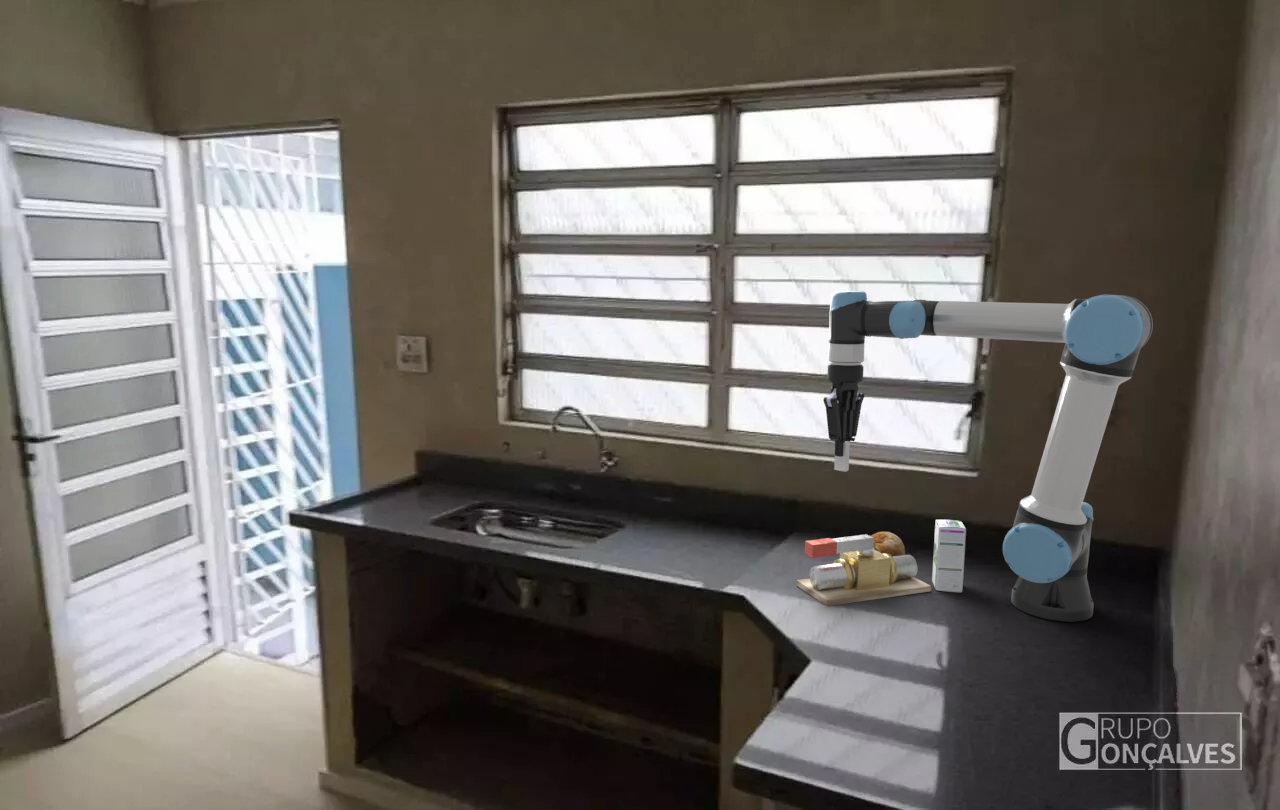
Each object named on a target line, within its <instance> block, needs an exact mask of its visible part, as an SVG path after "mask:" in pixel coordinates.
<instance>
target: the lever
mask: <svg viewBox="0 0 1280 810" xmlns="http://www.w3.org/2000/svg"><path fill="white" fill-rule="evenodd" d="M873 539H874V538H873V537H871V535H870V534H869V535H868V534H867V533H865V534H859V535H851V536H843V537H842V536H841V537H836V538H835V537H834V538H831V537H826V538H819V539H811V540H805V541H804V542H805V543H804V554H805V555H806V556H807V557H810V558H811V559H815V558H823V557H830V556H836V555H837V554H840V553H845V552H853V551H857V554H858V555H860V556H865V557H870V556H873V555H874V547H873Z"/></svg>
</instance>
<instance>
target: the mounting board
mask: <svg viewBox="0 0 1280 810" xmlns="http://www.w3.org/2000/svg"><path fill="white" fill-rule="evenodd" d="M795 585H796V586H797V587H798V588H800V589H801V590H802V591H804V592H805V593H806V594H808V595H810V596H811V597H813V598H815V599H816V600H817V601H818V602H819V603H822V604H823V605H824V606H826V607H828V606H836V605H843V604H845V605H846V604H850V603H858V602H866V601H873V600H878V599H879V600H880V599H885V598H894V597H900V596H906V595H914V594H922V593H929V592H931V591H932V585H930V584H929V583H926V582H925V581H922V580H921V579H918V578H917V577H916V576H915V577H913V578H905V579H898V580H896V581H895V583H894V584H889V587H883V588H875V589H868V590H861V591H856V590H855V589H853V588H851V589H850V590H845V589H843V588H841V587H838V588H830V589H823V590H816V589H814V588H813V586H812V584H811V581H810V577H809V578H803V579H797V580H796V584H795Z"/></svg>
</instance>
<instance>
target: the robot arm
mask: <svg viewBox="0 0 1280 810" xmlns="http://www.w3.org/2000/svg"><path fill="white" fill-rule="evenodd" d="M828 314H829V320H828V321H829V323H828V324H829V333H828V334H829V335H828V347H827V350H828V354H827V357H828V358H827V360H828V362H830V363H829V364H827V376H826V377H827V381H829V382H831V387H830V394H829V396H824V397H823V404H824V406H825V413H826V421H827V422H826V423H827V432H828V439H830V441H833V442H834V464H833V467H834V468H833V470H835V471H839V472H845V473H846V472H849V470H850V469H849V468H850V467H849V466H850V452H851V451H850V450H851V449H850V448H851V446H850V445H851V442H855V440H856V438H855V437H857V434H858V428H859V421H860V418H861V417H860V416H861V409H862V404H863V401H864V398H865V393H864V392H859V385H858V383H861V382H863V380H864V367H865V366H864V365H863V364H862V363H863V362H864V361H865V340H866V337H875V338H876V337H877V338H891V339H892V338H895V339H900V340H905V339H916V338H919V337H920V336H932V337H935V336H937V337H939V336H940V337H952V338H953V337H954V338H955V337H956V338H973V339H991V340H1010V341H1027V342H1028V341H1031V342H1043V343H1044V342H1045V343H1063V344H1064V347H1063V350H1062V354H1061V357H1060V361H1059V364H1060V365H1061V367H1062V368H1063V371H1064V372H1065V377H1064V379H1063V384H1062V387H1061V390H1060V394H1059V398H1058V401H1057V405H1056V409H1055V412H1054V415H1053V419H1052V421H1051V426H1050V429H1049V432H1048V435H1047V439H1046V443H1045V445H1044V449H1043V453H1042V457H1041V459H1040V464H1039V466H1038V470H1037V474H1036V476H1035V479H1034V480H1035V481H1034V484H1033V488H1032V490H1031V494H1030V495H1027V496H1025V497H1024V498H1021V500H1020V501H1019V504H1018V508H1017V511H1016V515H1015V517H1014V522H1013V525H1012V528H1010V530H1008V531H1007V532H1006V534H1005V537H1004V540H1003V543H1002V555H1003V558H1004V560H1005V562H1006V564H1007V565H1008V567H1010V569H1011V570H1012V572H1013V573H1015V574H1016V575H1017V576H1018V577H1017V579H1016V581H1015V584H1014V586H1013V587H1012V589H1011V597H1010V601H1011V604H1012V605H1013V606H1014V607H1015V608H1016V609H1018V610H1019V611H1022V612H1024V613H1026V614H1029V615H1031V616H1034V617H1038V618H1041V619H1045V620H1050V621H1056V622H1057V621H1058V622H1067V623H1068V622H1069V623H1070V622H1072V623H1073V622H1082V621H1086V620H1089V619H1091V618H1092V617H1093V614H1094V605H1095V604H1094V601H1093V599H1092V597H1091V596H1092V595H1091V591H1090V586H1089V581H1088V578H1087V577H1088V576H1087V575H1088V565H1089V564H1088V563H1089V557H1090V546H1091V535H1092V527H1093V522H1094V520H1095V519H1094V510H1093V507H1092V505H1091V504H1089V503H1088V502H1085V501H1084V500H1085V496H1086V493H1087V490H1088V487H1089V484H1090V480H1091V476H1092V473H1093V470H1094V466H1095V464H1096V460H1097V457H1098V454H1099V450H1100V448H1101V444H1102V442H1103V441H1102V440H1103V437H1104V434H1105V431H1106V428H1107V425H1108V421H1109V419H1110V415H1111V411H1112V407H1113V404H1114V401H1115V398H1116V395H1117V392H1118V389H1119V386H1120V385H1121V384H1123V383H1125V382H1127V381H1129V380H1130V379H1132V377H1133V373H1134V370H1135V367H1136V365H1137V362H1138V358H1139V354H1140V351H1141V349H1142V348H1144V347H1145V345H1146V344H1147V343H1148V341H1149V339H1150V338H1151V336H1152V333H1153V327H1154V325H1153V324H1154V323H1153V322H1154V321H1153V317H1152V313H1151V312H1150V310H1149V308H1148V307H1147V306H1146V305H1145V304H1144V303H1143V302H1141V300H1139V299H1137V298H1136V297H1132V296H1129V295H1125V294H1108V293H1107V294H1105V293H1104V294H1099V295H1095V296H1092V297H1089V298H1075V299H1074V300H1072V301H1071V302H1070V303H1050V302H1049V303H1048V302H1047V303H1046V302H1045V303H1042V302H1041V303H1039V302H1038V303H1037V302H999V301H997V302H996V301H963V300H962V301H961V300H958V301H956V300H926V299H914V300H913V299H912V300H878V301H877V300H875V301H874V300H869V299H868V297H867V293H866V292H865V291H859V290H858V291H856V290H855V291H853V290H852V291H851V290H848V291H847V290H845V291H844V290H843V291H842V290H837V291H834V292H833V293H832V294H831V296H830V305H829V311H828Z"/></svg>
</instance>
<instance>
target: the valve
mask: <svg viewBox="0 0 1280 810" xmlns="http://www.w3.org/2000/svg"><path fill="white" fill-rule="evenodd" d="M917 573H918V563H917V560H916V559H915V557H914V556H913V555H911V554H905V555H902V556H894V557H892V556H891V555H889V554H887V553H883V554H882V553H880V552H878V551H876V550H874V555H873V556H870V557H865V556H860V555H858V554H857V551H853V552H845V553H839V558H835V559H834V560H833V561H832V563H829V564H820V565H814V566H812V567H811V568H810V570H809V578H810V581H811V584H812V586H813V588H814V589H816V590H823V589H830V588H838V587H841V588H843V589H845V590H850V589H851V588H853V589H855V590H856V591H861V590H868V589H875V588H883V587H889V584H894V583H895V581H896V580H898V579H905V578H913V577H915V578H916V576H917Z"/></svg>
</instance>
